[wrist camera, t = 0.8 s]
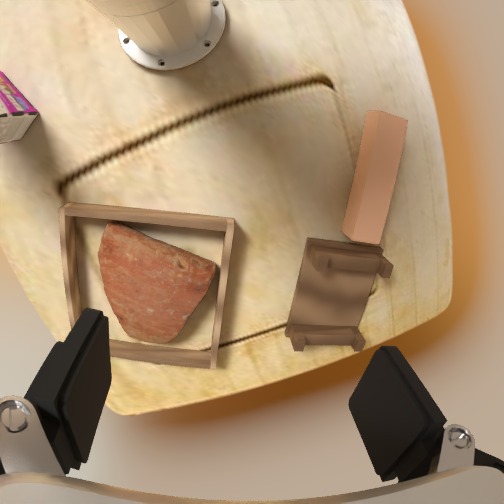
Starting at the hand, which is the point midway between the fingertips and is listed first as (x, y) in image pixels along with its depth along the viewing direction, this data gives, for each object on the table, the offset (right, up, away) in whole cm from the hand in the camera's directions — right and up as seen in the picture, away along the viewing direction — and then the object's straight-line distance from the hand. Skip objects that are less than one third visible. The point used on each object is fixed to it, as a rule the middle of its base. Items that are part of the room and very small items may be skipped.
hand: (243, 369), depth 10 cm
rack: (+12, -2, +34) cm, 36 cm away
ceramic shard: (-14, 0, +31) cm, 34 cm away
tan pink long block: (+15, +14, +28) cm, 35 cm away
